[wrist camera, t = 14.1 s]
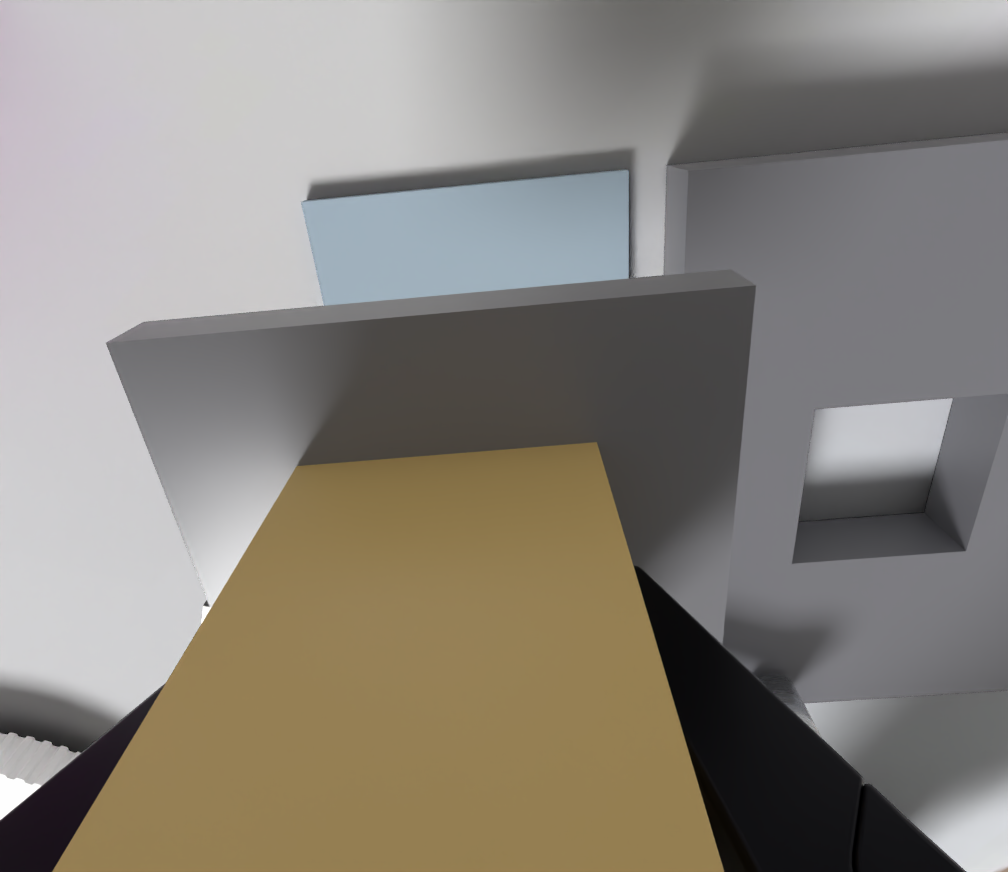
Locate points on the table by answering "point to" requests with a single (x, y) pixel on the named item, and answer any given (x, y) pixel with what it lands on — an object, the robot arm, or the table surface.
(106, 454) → the table surface
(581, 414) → the plug
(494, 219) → the mat
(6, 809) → the plastic lid
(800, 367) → the socket plate
